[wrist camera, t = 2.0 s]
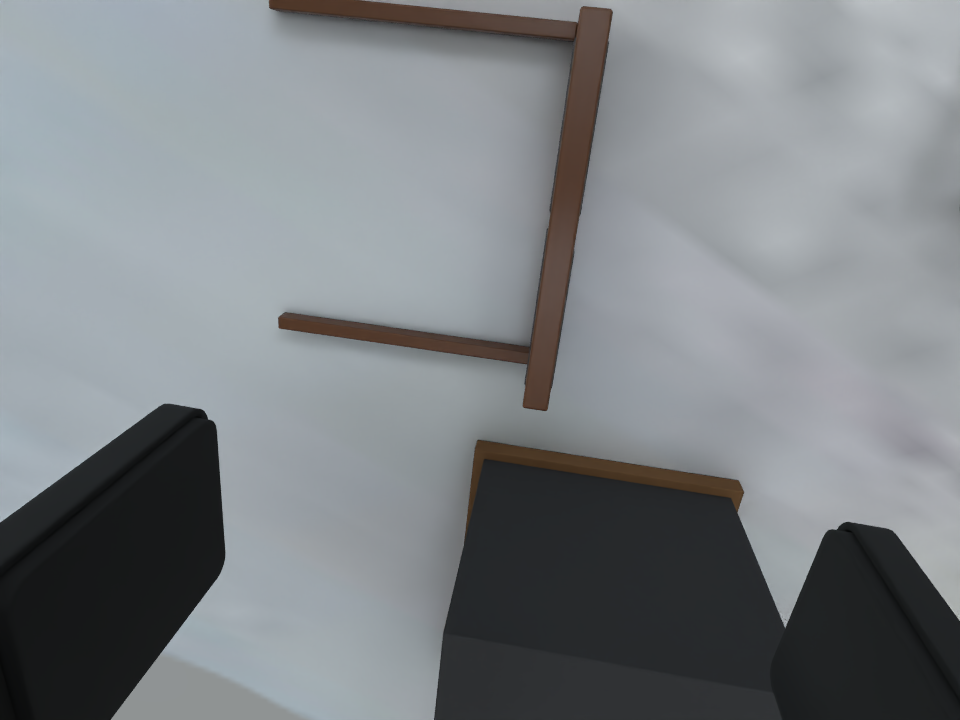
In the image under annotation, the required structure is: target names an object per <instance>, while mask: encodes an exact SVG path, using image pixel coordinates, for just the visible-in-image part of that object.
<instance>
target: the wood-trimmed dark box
mask: <svg viewBox="0 0 960 720" xmlns="http://www.w3.org/2000/svg"><path fill="white" fill-rule="evenodd" d="M743 494H744V491H743V489H742V486H741V484H740V482H739V481H738V480H731V479H725V478H718V477H712V476H706V475H699V474H693V473H686V472H680V471H674V470H667V469H661V468H654V467H648V466H641V465H635V464H629V463H622V462H616V461H609V460H603V459H597V458H590V457H584V456H577V455H571V454H565V453H558V452H552V451H545V450H539V449H533V448H526V447H520V446H513V445H507V444H501V443H494V442H488V441H481V440H478V441H477V444H476V447H475V453H474V461H473V470H472V479H471V488H470V496H469V505H468V514H467V522H466V531H465V540H464V547H463V551H462V555H461V560H460V564H459V568H458V573H457V577H456V581H455V585H454V590H453V594H452V598H451V603H450V607H449V611H448V616H447V620H446V624H445V628H444V633H443V641H442V651H441V660H440V670H439V679H438V689H437V698H436V707H435V717H434V720H782V718H781V714H780V711H779V708H778V705H777V702H776V699H775V696H774V693H773V690H772V686H771V680H770V669H771V663H772V660H773V657H774V655H775V652H776V650H777V647H778V645H779V643H780V640H781V638H782V635H783V633H784V631H785V627H784V625H783V622H782V620H781V617H780V615H779V613H778V610H777V608H776V605H775V603H774V600H773V598H772V596H771V593H770V591H769V588H768V586H767V583H766V581H765V579H764V576H763V574H762V571H761V569H760V567H759V564H758V562H757V559H756V557H755V554H754V552H753V550H752V547H751V545H750V542H749V540H748V537H747V535H746V533H745V530H744V528H743V525H742V523H741V521H740V518H739V516H738V513H737V512H738V509H739V506H740V503H741V500H742V497H743Z"/></svg>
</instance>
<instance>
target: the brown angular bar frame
mask: <svg viewBox="0 0 960 720" xmlns="http://www.w3.org/2000/svg"><path fill="white" fill-rule="evenodd" d="M269 8H270V9H273V10H276V11H281V12H291V13H301V14H310V15H320V16H330V17H339V18H349V19H359V20H368V21H378V22H388V23H397V24H407V25H417V26H426V27H436V28H446V29H455V30H465V31H475V32H484V33H494V34H504V35H513V36H523V37H533V38H542V39H552V40H562V41H571V42H574V45H573V52H572V58H571V65H570V72H569V79H568V86H567V93H566V100H565V107H564V114H563V121H562V128H561V135H560V141H559V148H558V155H557V162H556V169H555V176H554V183H553V190H552V197H551V204H550V219H549V226H548V228H547V232H546V239H545V245H544V252H543V259H542V266H541V273H540V280H539V287H538V293H537V300H536V307H535V314H534V321H533V328H532V335H531V342H530V347H525V346H518V345H511V344H504V343H497V342H490V341H483V340H476V339H469V338H462V337H455V336H448V335H441V334H434V333H427V332H420V331H413V330H406V329H399V328H392V327H385V326H378V325H371V324H364V323H357V322H350V321H343V320H336V319H329V318H322V317H315V316H308V315H301V314H294V313H287V312H285V313H283V314H282V315H281V316H279V318H278V323H279V328H280V329H287V330H294V331H301V332H308V333H314V334H321V335H328V336H335V337H342V338H349V339H356V340H363V341H370V342H377V343H384V344H390V345H397V346H404V347H411V348H418V349H425V350H432V351H439V352H446V353H453V354H460V355H466V356H473V357H480V358H487V359H494V360H501V361H508V362H515V363H522V364H527V370H526V376H525V383H524V384H525V392H524V399H523V407H524V408H528V409H535V410H542V411H547V409H548V404H549V398H550V392H551V388H552V385H553V379H554V373H555V367H556V360H557V354H558V348H559V342H560V336H561V330H562V324H563V318H564V312H565V306H566V300H567V294H568V288H569V282H570V276H571V269H572V263H573V257H574V246H575V240H576V234H577V227H578V221H579V216H580V214H581V209H582V203H583V197H584V190H585V184H586V178H587V172H588V166H589V160H590V154H591V148H592V142H593V136H594V130H595V124H596V118H597V112H598V106H599V99H600V93H601V87H602V81H603V75H604V69H605V63H606V57H607V51H608V45H609V42H608V39H609V33H610V27H611V20H612V14H613V11H612V10H611V9H607V8H597V7H587V6H583V7H581V9H580V14H579V21H578V23H577V22H569V21H559V20H549V19H539V18H530V17H520V16H510V15H500V14H490V13H480V12H470V11H460V10H450V9H440V8H431V7H421V6H411V5H401V4H391V3H381V2H371V1H361V0H269Z"/></svg>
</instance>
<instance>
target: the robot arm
mask: <svg viewBox="0 0 960 720" xmlns="http://www.w3.org/2000/svg"><path fill="white" fill-rule="evenodd" d="M224 561H225V541H224V527H223V513H222V499H221V484H220V470H219V456H218V442H217V429H216V425H215V423H214V422H213V421H212V420H208V417H207V415H206V413H205V412H204V411H203V410H202V409H197V408H191V407H185V406H180V405H174V404H163V405H161V406H159V407H158V408H157V409H155V410H154V411H152V412H151V413H150V414H148V415H147V416H146V417H144V418H143V419H141V420H140V421H139V422H137V423H136V424H135V425H133V426H132V427H131V428H129V429H128V430H126V431H125V432H124V433H122V434H121V435H120V436H118V437H117V438H115V439H114V440H113V441H111V442H110V443H109V444H107V445H106V446H105V447H103V448H102V449H100V450H99V451H98V452H96V453H95V454H94V455H92V456H91V457H89V458H88V459H87V460H85V461H84V462H83V463H81V464H80V465H79V466H77V467H76V468H74V469H73V470H72V471H70V472H69V473H68V474H66V475H65V476H63V477H62V478H61V479H59V480H58V481H57V482H55V483H54V484H53V485H51V486H50V487H48V488H47V489H46V490H44V491H43V492H42V493H40V494H39V495H37V496H36V497H35V498H33V499H32V500H31V501H29V502H28V503H27V504H25V505H24V506H22V507H21V508H20V509H18V510H17V511H16V512H14V513H13V514H11V515H10V516H9V517H7V518H6V519H5V520H3V521H2V522H0V720H111V718H112V717H113V716H114V714H115V713H116V712H117V710H118V709H119V708H120V706H121V705H122V704H123V703H124V701H125V700H126V698H127V697H128V696H129V695H130V693H131V692H132V691H133V689H134V688H135V687H136V685H137V684H138V683H139V681H140V680H141V679H142V677H143V676H144V675H145V673H146V672H147V671H148V669H149V668H150V667H151V665H152V664H153V663H154V661H155V660H156V659H157V657H158V656H159V655H160V653H161V652H162V651H163V650H164V648H165V647H166V646H167V644H168V643H169V642H170V640H171V639H172V638H173V636H174V635H175V634H176V632H177V631H178V630H179V628H180V627H181V626H182V624H183V623H184V622H185V620H186V619H187V618H188V616H189V615H190V614H191V612H192V611H193V610H194V608H195V607H196V606H197V604H198V603H199V602H200V601H201V599H202V598H203V597H204V595H205V594H206V593H207V591H208V590H209V589H210V587H211V586H212V585H213V583H214V582H215V581H216V579H217V578H218V576H219V575H220V573H221V570H222V568H223V565H224ZM770 680H771V686H772V690H773V693H774V696H775V699H776V702H777V705H778V708H779V711H780V714H781V718H782V720H960V621H959V619H958V618H957V617H956V615H955V614H954V613H953V611H952V610H951V609H950V607H949V606H948V604H947V603H946V602H945V600H944V599H943V598H942V596H941V595H940V594H939V592H938V591H937V589H936V588H935V587H934V585H933V584H932V583H931V581H930V580H929V579H928V577H927V576H926V574H925V573H924V572H923V570H922V569H921V568H920V566H919V565H918V564H917V562H916V561H915V559H914V558H913V557H912V555H911V554H910V553H909V551H908V550H907V549H906V547H905V546H904V545H903V543H902V542H901V540H900V539H899V538H898V536H897V535H896V534H895V533H894V532H893V531H892V530H889V529H886V528H880V527H875V526H869V525H863V524H857V523H852V522H845V523H843V524H841V525H840V526H839V527H838V529H837V530H833V529H832V530H828V531H827V532H826V533H825V535H824V537H823V539H822V541H821V544H820V546H819V549H818V551H817V553H816V556H815V558H814V561H813V563H812V566H811V568H810V570H809V573H808V575H807V578H806V580H805V582H804V585H803V587H802V590H801V592H800V594H799V597H798V599H797V602H796V604H795V606H794V609H793V611H792V614H791V616H790V619H789V621H788V623H787V626H786V628H785V631H784V633H783V635H782V638H781V640H780V643H779V645H778V647H777V650H776V652H775V655H774V657H773V660H772V663H771V669H770Z"/></svg>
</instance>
